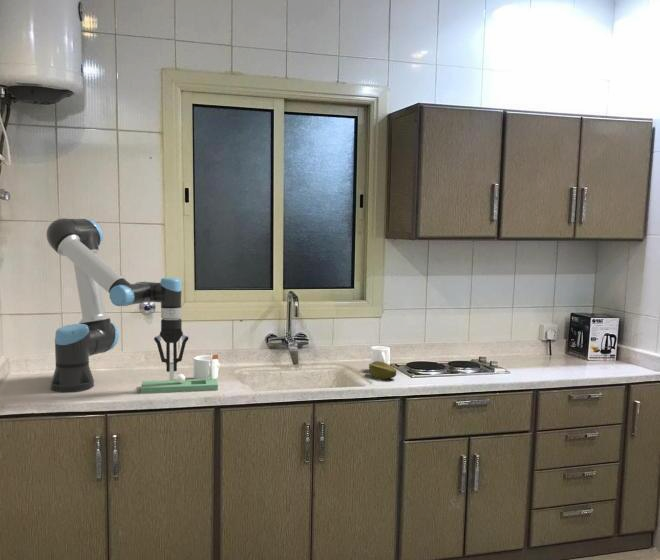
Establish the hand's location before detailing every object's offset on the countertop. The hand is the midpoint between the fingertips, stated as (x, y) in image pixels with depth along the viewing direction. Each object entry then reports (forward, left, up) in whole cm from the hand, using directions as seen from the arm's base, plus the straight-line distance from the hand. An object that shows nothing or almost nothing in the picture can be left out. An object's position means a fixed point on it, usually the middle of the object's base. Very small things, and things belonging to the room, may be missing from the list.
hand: (171, 379), depth 228 cm
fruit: (+87, +4, -4) cm, 87 cm away
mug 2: (+90, +14, -4) cm, 91 cm away
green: (+3, 0, -4) cm, 5 cm away
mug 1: (+14, +11, -4) cm, 18 cm away
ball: (+3, 0, 0) cm, 3 cm away
